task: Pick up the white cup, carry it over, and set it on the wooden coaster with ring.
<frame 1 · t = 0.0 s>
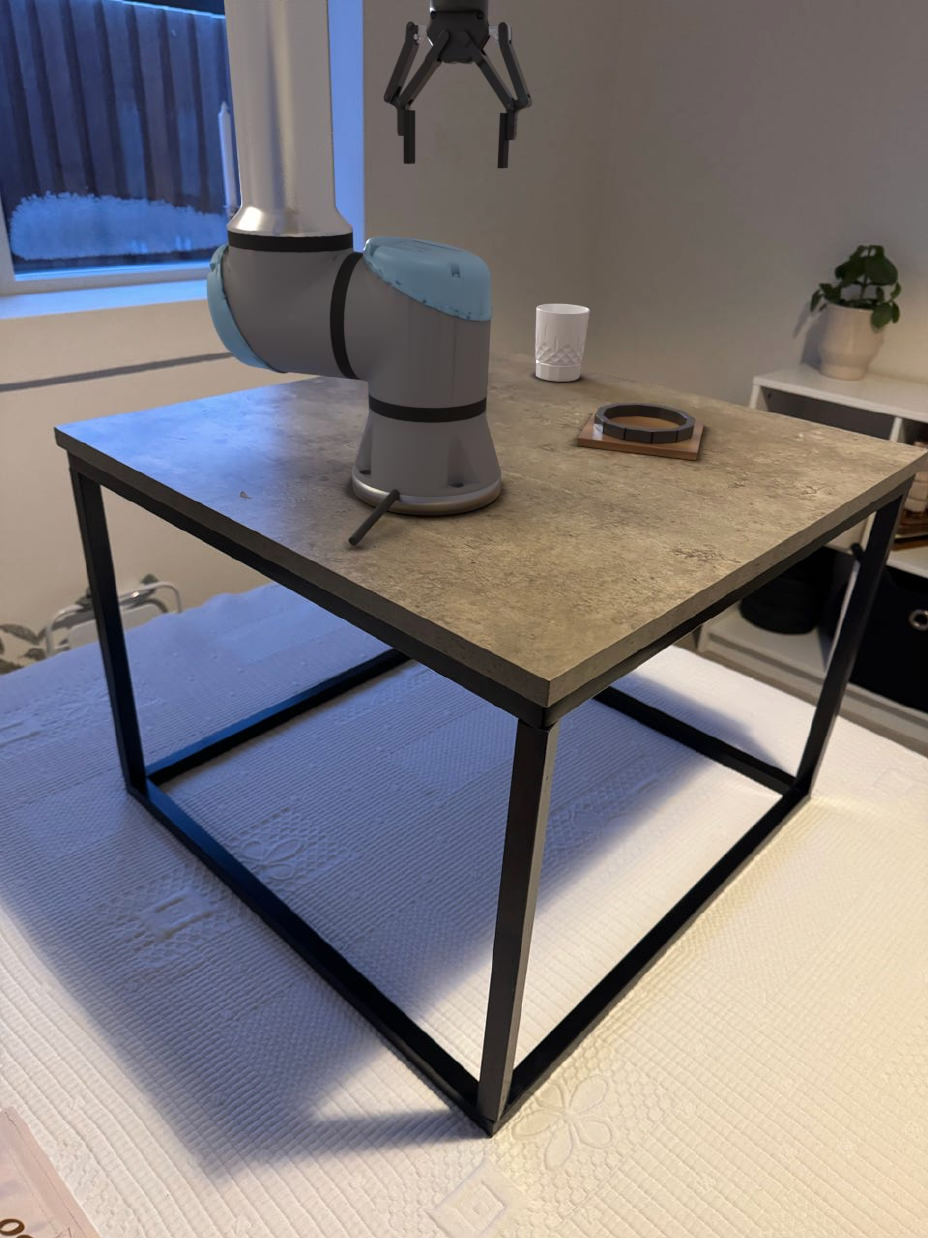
hand: (455, 166, 119), 28 cm above the table, tool pointing down, fingers open, 13 cm apart
white cup: (557, 377, 132), on the table
wooden coaster with ring: (642, 435, 107), on the table
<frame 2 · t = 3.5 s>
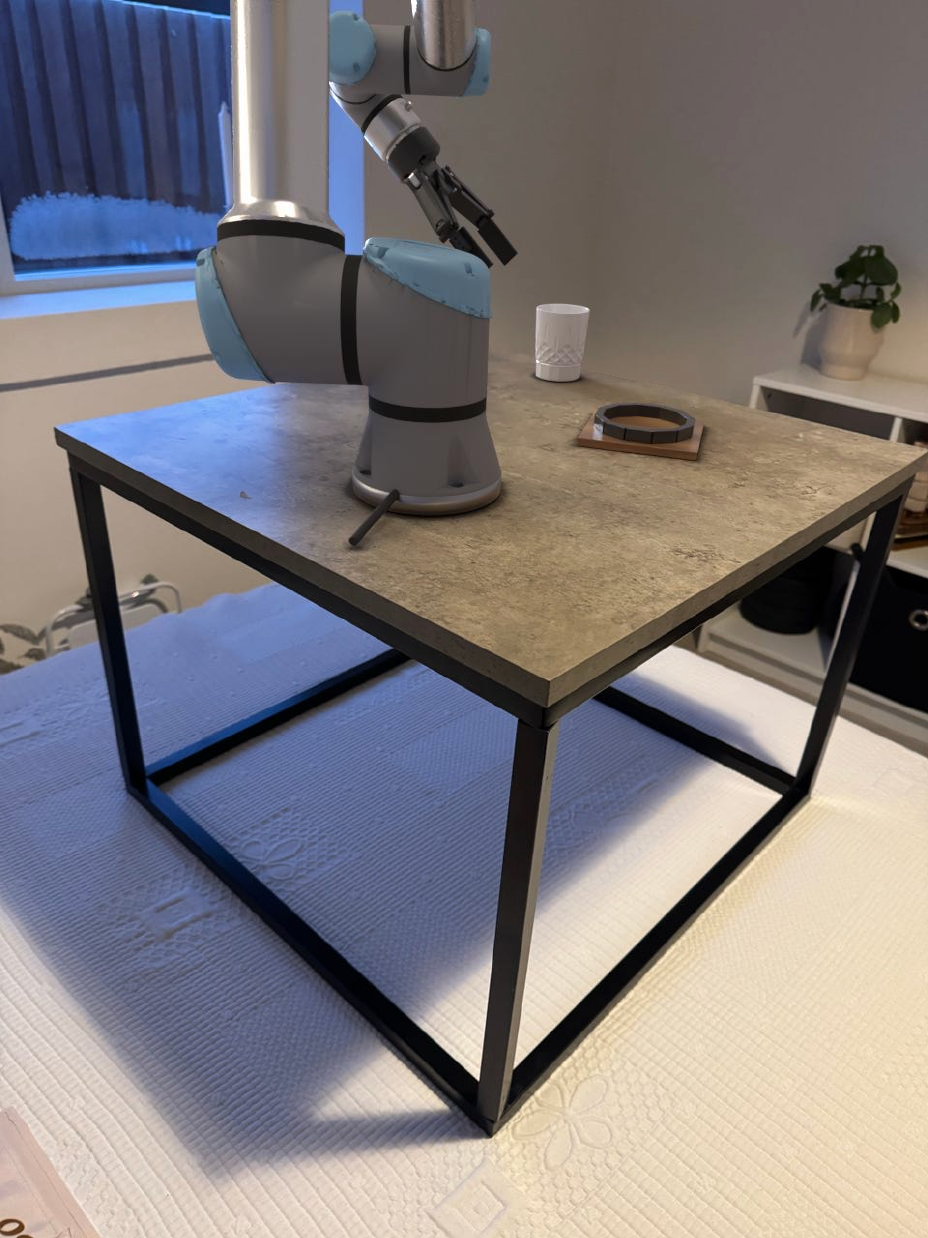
hand: (499, 265, 126), 15 cm above the table, tool tilted 45°, fingers open, 13 cm apart
nothing on the table moved.
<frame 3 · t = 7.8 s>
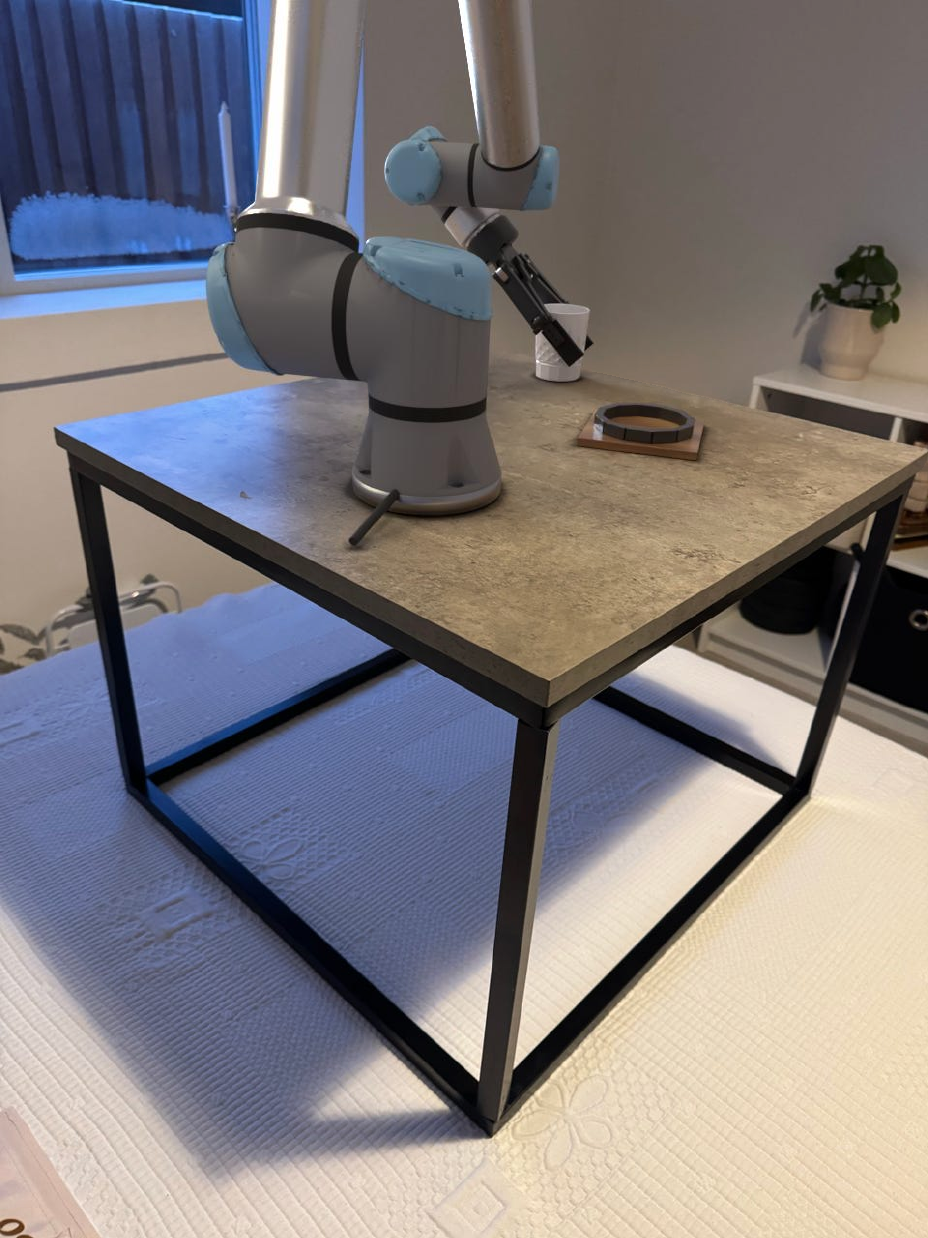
hand: (581, 354, 129), 4 cm above the table, tool tilted 45°, fingers closed on white cup, 8 cm apart
white cup: (557, 377, 132), on the table, touching gripper
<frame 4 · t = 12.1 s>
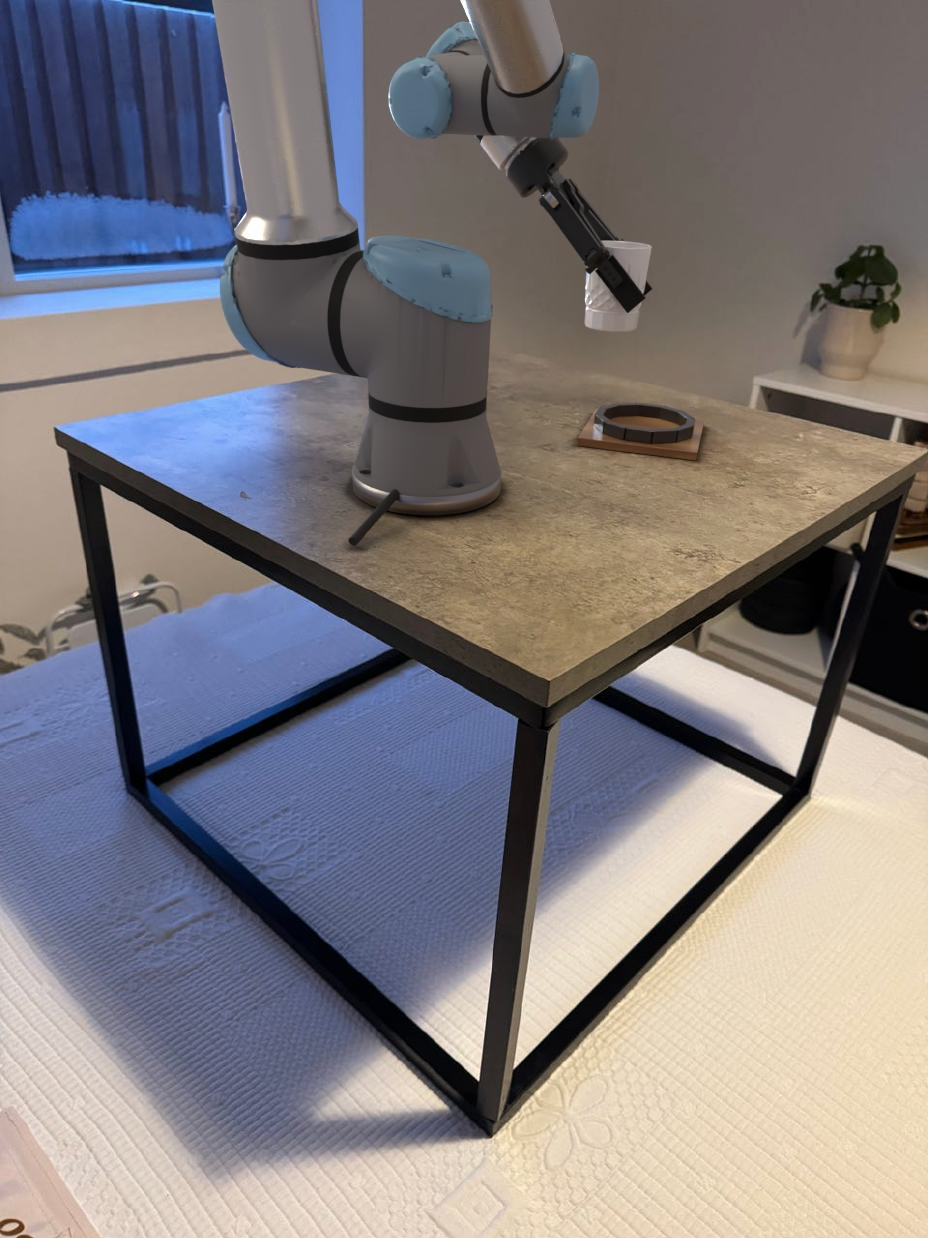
hand: (640, 300, 109), 14 cm above the table, tool tilted 45°, fingers closed on white cup, 8 cm apart
white cup: (610, 328, 112), point 10 cm above the table, touching gripper
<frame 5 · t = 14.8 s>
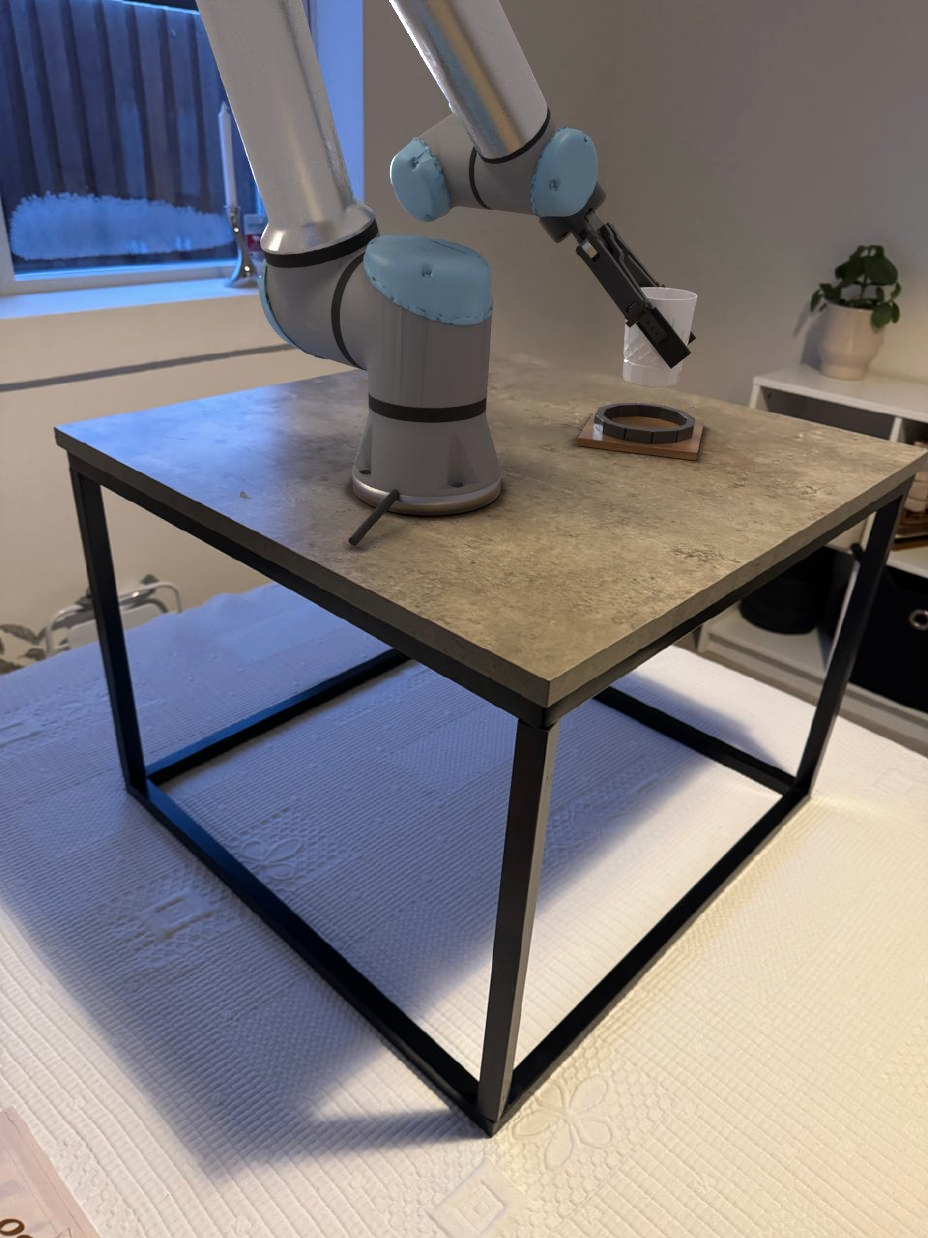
hand: (683, 352, 101), 10 cm above the table, tool tilted 45°, fingers closed on white cup, 8 cm apart
white cup: (650, 381, 104), point 7 cm above the table, touching gripper
when the fingers open (5 cm above the table, at t = 16.9 s): white cup stays where it is, resting on wooden coaster with ring.
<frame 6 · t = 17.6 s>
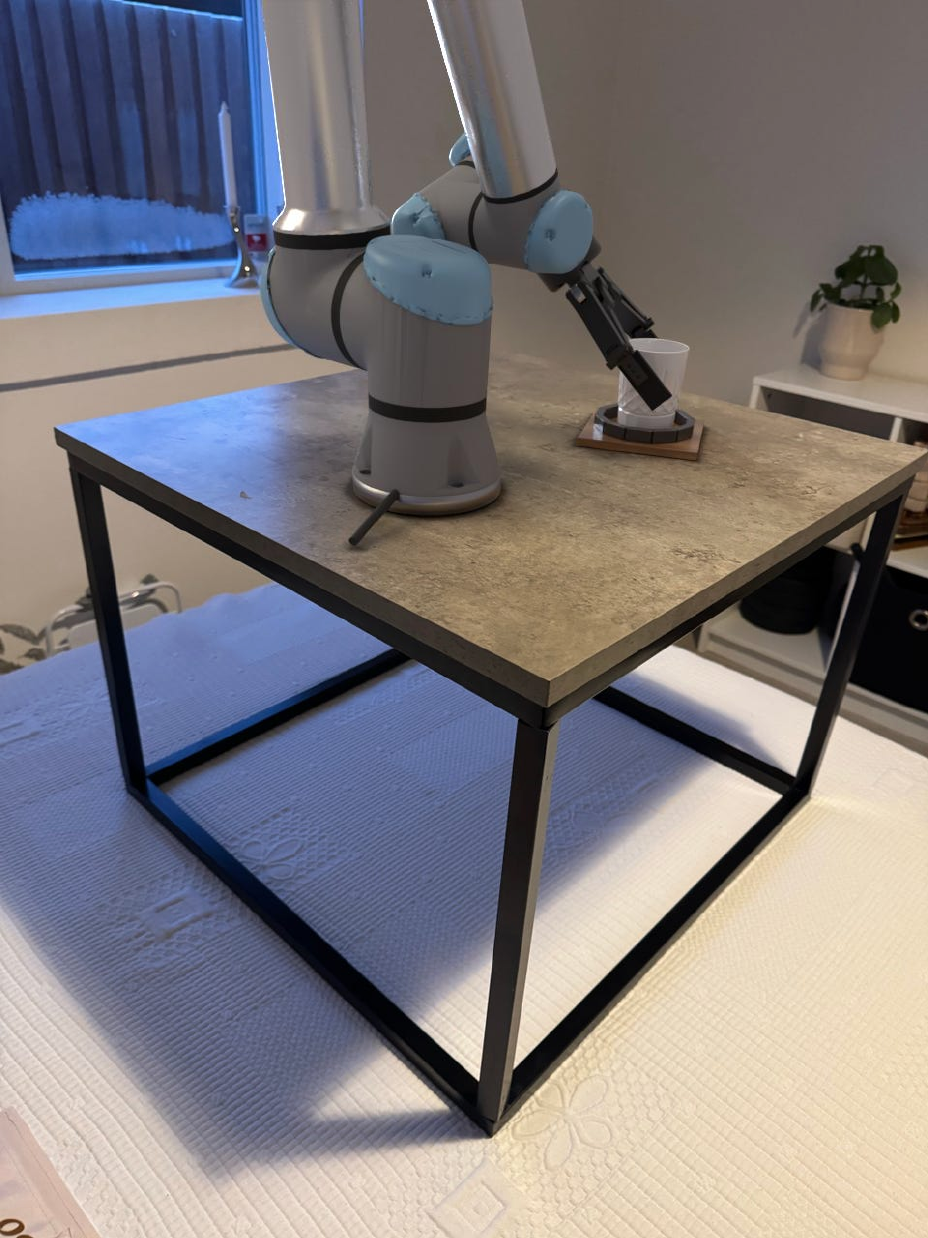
hand: (668, 389, 103), 6 cm above the table, tool tilted 45°, fingers open, 13 cm apart
white cup: (643, 429, 106), point 1 cm above the table, touching wooden coaster with ring
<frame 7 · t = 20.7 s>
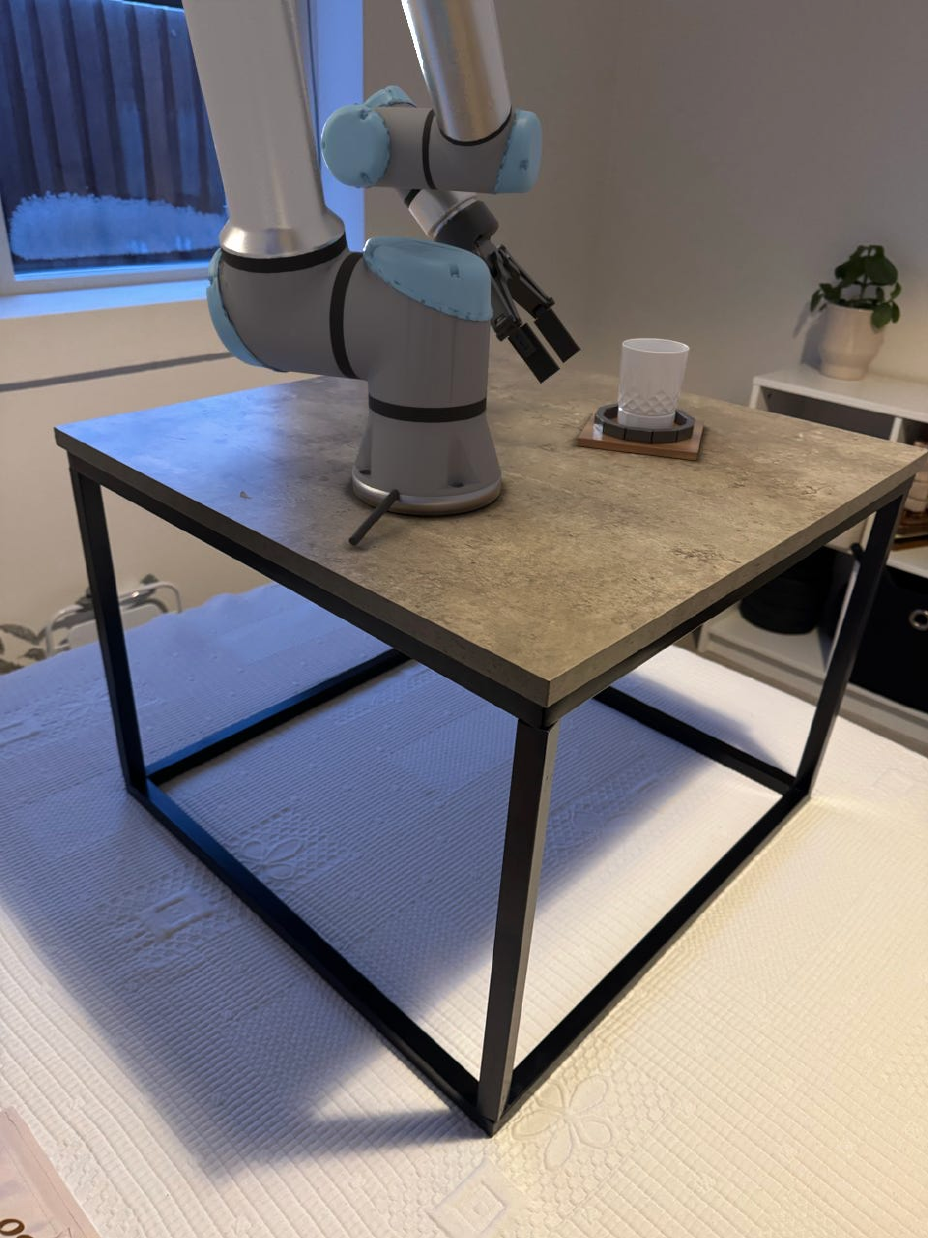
hand: (562, 366, 106), 7 cm above the table, tool tilted 45°, fingers open, 13 cm apart
nothing on the table moved.
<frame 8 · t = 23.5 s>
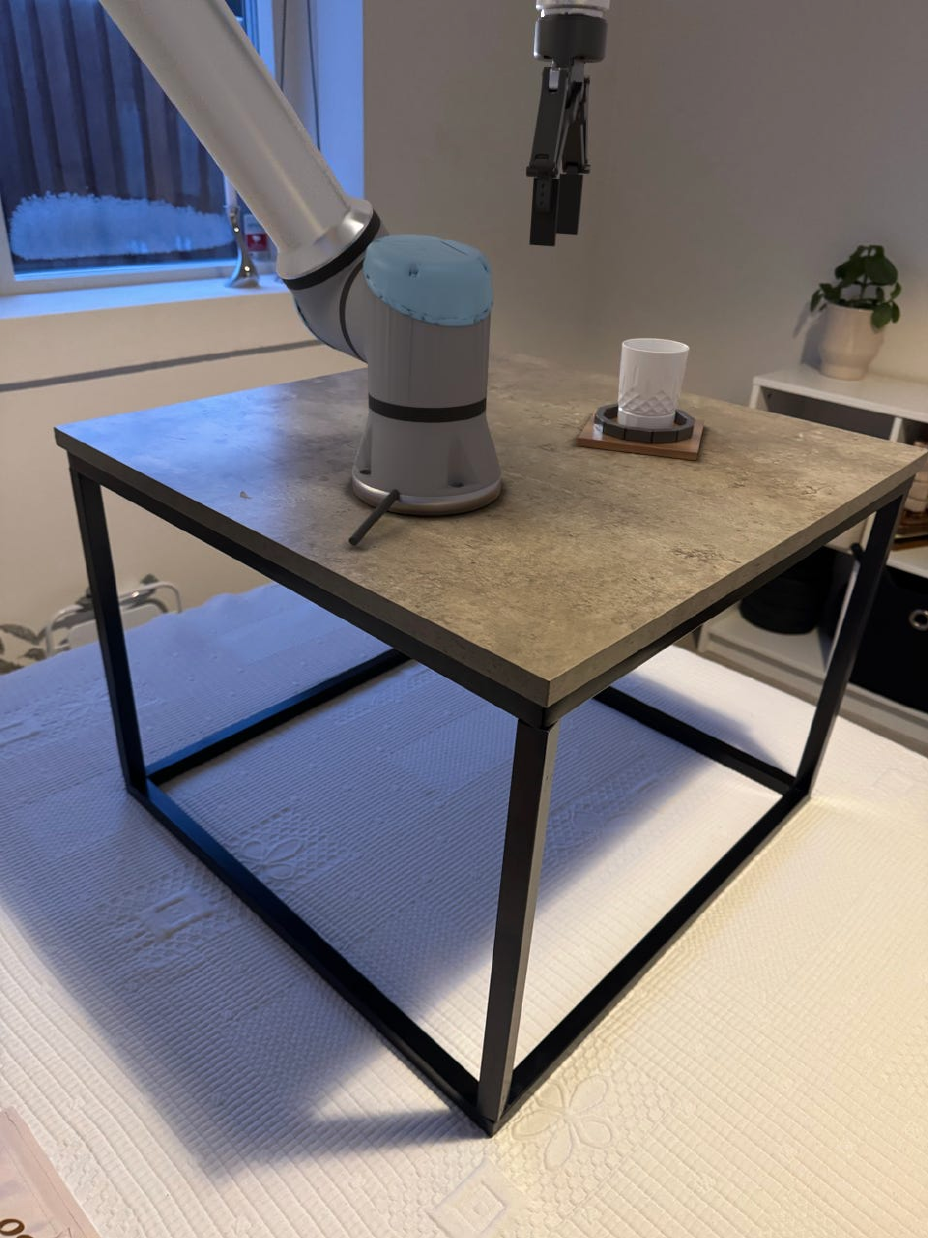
hand: (554, 239, 99), 22 cm above the table, tool pointing down, fingers open, 13 cm apart
nothing on the table moved.
at the end: white cup 0.1 cm off-centre on the wooden coaster with ring, point 0.8 cm above the wooden coaster with ring's base; white cup tilted 0° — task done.
